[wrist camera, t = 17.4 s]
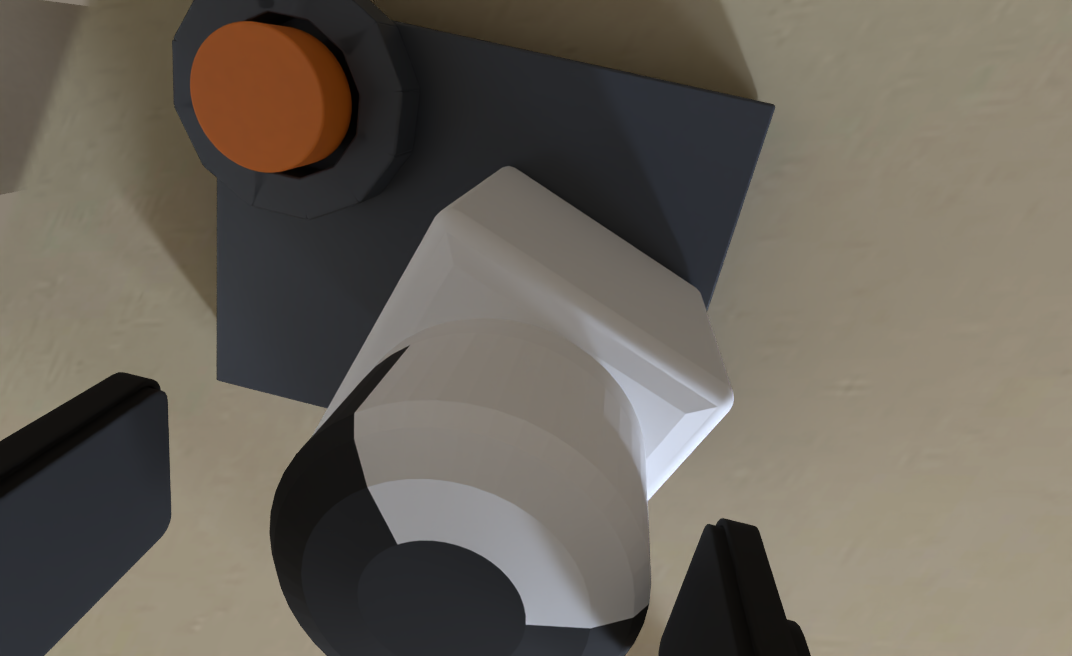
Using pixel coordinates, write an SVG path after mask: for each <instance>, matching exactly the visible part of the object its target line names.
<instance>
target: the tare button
mask: <svg viewBox="0 0 1072 656" xmlns="http://www.w3.org/2000/svg"><path fill="white" fill-rule="evenodd" d="M190 93H191V99H192V104H193V108H194V111H195V114H196V117H197V119H198V121H199V124H200V126H201V127H202V129H203V131H204V133H205V134H206V136H207V137H208V138H209V140H210V141H211V142H212V143H213V145H214V146H215V147H216V148H217V149H218V150H219V151H220V152H221V153H222V154H223V155H225V156H226V157H227V158H229V159H230V160H232V161H233V162H235V163H237V164H238V165H240V166H243V167H245V168H247V169H250V170H254V171H258V172H264V173H275V172H282V171H286V170H289V169H293V168H297V167H301V166H304V165H308V164H312V163H315V162H318V161H320V160H323V159H325V158H326V157H328V156H329V155H330V154H332V153H333V152H334V151H335V150H336V149H337V148H338V146H339V145H340V144H341V142H342V141H343V139H344V138H345V135H346V133H347V131H348V128H349V124H350V120H351V113H352V100H351V92H350V88H349V84H348V81H347V78H346V75H345V73H344V71H343V69H342V67H341V65H340V63H339V62H338V60H337V59H336V57H335V56H334V55H333V53H332V52H331V51H330V50H329V49H328V48H327V47H326V46H325V45H324V44H323V43H322V42H321V41H319V40H318V39H317V38H315V37H314V36H312V35H310V34H309V33H306V32H304V31H302V30H299V29H296V28H293V27H286V26H279V25H273V24H266V23H260V22H253V21H240V22H234V23H230V24H227V25H224V26H222V27H221V28H219V29H217V30H216V31H214V32H213V33H212V34H210V35H209V36H208V37H207V39H206V40H205V41H204V42H203V43H202V45H201V46H200V48H199V49H198V51H197V53H196V56H195V58H194V61H193V64H192V69H191V75H190Z"/></svg>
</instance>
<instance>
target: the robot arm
mask: <svg viewBox="0 0 1072 656" xmlns="http://www.w3.org/2000/svg"><path fill="white" fill-rule="evenodd" d="M170 519H171V490H170V459H169V428H168V399H167V395H166V393H165V392H163V391H161V390H160V386H159V384H158V382H156V381H155V380H153V379H148V378H144V377H140V376H136V375H132V374H128V373H123V372H118V373H116V374H113V375H111V376H110V377H108V378H106V379H105V380H103V381H101V382H100V383H98V384H96V385H95V386H93V387H91V388H90V389H88V390H86V391H84V392H83V393H81V394H79V395H78V396H76V397H74V398H73V399H71V400H69V401H68V402H66V403H64V404H62V405H61V406H59V407H57V408H56V409H54V410H52V411H51V412H49V413H47V414H46V415H44V416H42V417H40V418H39V419H37V420H35V421H34V422H32V423H30V424H29V425H27V426H25V427H24V428H22V429H20V430H19V431H17V432H15V433H13V434H12V435H10V436H8V437H7V438H5V439H3V440H2V441H0V656H44V655H45V654H46V653H47V652H48V651H49V650H50V649H51V648H52V647H53V646H54V645H55V644H56V643H57V642H58V641H59V640H60V639H61V638H62V637H63V636H64V635H65V634H66V633H67V632H68V631H69V630H70V629H71V628H72V627H73V626H74V625H75V624H76V623H77V622H78V621H79V620H80V619H81V618H82V617H83V616H84V615H85V614H86V613H87V612H88V611H89V610H90V609H91V608H92V607H93V606H94V605H95V604H96V603H97V602H98V601H99V600H100V599H101V598H102V597H103V596H104V595H105V594H106V593H107V592H108V591H109V590H110V589H111V588H112V587H113V586H114V584H115V583H116V582H117V581H118V580H119V579H120V578H121V577H122V576H123V575H124V574H125V573H126V572H127V571H128V570H129V569H130V568H131V567H132V566H133V565H134V564H135V563H136V562H137V561H138V560H139V559H140V558H141V557H142V556H143V555H144V554H145V553H146V552H147V551H148V550H149V549H150V548H151V547H152V546H153V545H154V544H155V543H156V542H157V541H158V540H159V539H160V538H161V537H162V536H163V534H164V533H165V531H166V530H167V528H168V525H169V523H170ZM659 656H811V655H810V652H809V649H808V646H807V643H806V640H805V637H804V634H803V632H802V630H801V628H800V626H799V625H798V624H797V623H796V622H795V621H791V620H787V619H786V616H785V613H784V609H783V606H782V603H781V600H780V597H779V593H778V590H777V587H776V584H775V581H774V577H773V574H772V571H771V568H770V565H769V561H768V558H767V555H766V552H765V549H764V545H763V542H762V539H761V536H760V533H759V530H758V528H757V527H755V526H753V525H749V524H745V523H740V522H736V521H732V520H728V519H724V518H722V519H720V520H719V521H718V522H717V524H716V526H715V525H711V524H707V525H706V526H705V528H704V530H703V533H702V535H701V538H700V540H699V543H698V545H697V548H696V551H695V553H694V556H693V558H692V561H691V563H690V566H689V569H688V571H687V574H686V576H685V579H684V581H683V584H682V587H681V589H680V592H679V594H678V597H677V600H676V602H675V605H674V607H673V610H672V612H671V615H670V618H669V620H668V623H667V625H666V628H665V630H664V633H663V636H662V639H661V642H660V647H659Z"/></svg>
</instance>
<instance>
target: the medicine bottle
mask: <svg viewBox="0 0 1072 656" xmlns="http://www.w3.org/2000/svg"><path fill="white" fill-rule="evenodd" d="M733 402H734V395H733V390H732V387H731V384H730V381H729V378H728V375H727V372H726V369H725V366H724V362H723V359H722V356H721V353H720V350H719V347H718V344H717V341H716V338H715V335H714V332H713V329H712V326H711V323H710V320H709V317H708V314H707V311H706V308H705V305H704V302H703V299H702V296H701V293H700V292H699V291H698V289H697V288H696V287H694V286H692V285H691V284H689V283H688V282H686V281H685V280H683V279H682V278H680V277H679V276H677V275H676V274H674V273H673V272H671V271H670V270H668V269H667V268H665V267H664V266H662V265H661V264H659V263H658V262H656V261H655V260H653V259H652V258H650V257H649V256H647V255H646V254H644V253H643V252H641V251H640V250H638V249H637V248H635V247H634V246H632V245H631V244H629V243H628V242H626V241H625V240H623V239H622V238H620V237H619V236H617V235H616V234H614V233H613V232H611V231H610V230H608V229H607V228H605V227H604V226H602V225H601V224H599V223H598V222H596V221H595V220H593V219H591V218H590V217H588V216H587V215H585V214H584V213H582V212H581V211H579V210H578V209H576V208H575V207H573V206H572V205H570V204H569V203H567V202H566V201H564V200H563V199H561V198H560V197H558V196H557V195H555V194H554V193H552V192H551V191H549V190H548V189H546V188H545V187H543V186H542V185H540V184H539V183H537V182H536V181H534V180H533V179H531V178H530V177H528V176H527V175H525V174H524V173H522V172H521V171H519V170H518V169H516V168H514V167H511V166H506V167H502V168H501V169H500V170H498V171H497V172H495V173H494V174H492V175H491V176H490V177H488V178H487V179H485V180H484V181H483V182H481V183H480V184H478V185H477V186H475V187H474V188H473V189H471V190H470V191H468V192H467V193H465V194H464V195H463V196H461V197H460V198H458V199H457V200H456V201H454V202H453V203H451V204H450V205H448V206H447V207H446V208H444V209H443V210H441V211H440V212H439V213H438V214H437V215H436V216H435V218H434V220H433V221H432V223H431V225H430V227H429V229H428V230H427V232H426V234H425V236H424V238H423V239H422V241H421V243H420V245H419V246H418V248H417V250H416V252H415V254H414V255H413V257H412V259H411V261H410V262H409V264H408V266H407V268H406V270H405V271H404V273H403V275H402V277H401V278H400V280H399V282H398V284H397V286H396V287H395V289H394V291H393V293H392V295H391V296H390V298H389V300H388V302H387V303H386V305H385V307H384V309H383V311H382V312H381V314H380V316H379V318H378V319H377V321H376V323H375V325H374V327H373V328H372V330H371V332H370V334H369V335H368V337H367V339H366V341H365V343H364V344H363V346H362V348H361V350H360V352H359V353H358V355H357V357H356V359H355V360H354V362H353V364H352V366H351V368H350V369H349V371H348V373H347V375H346V376H345V378H344V380H343V382H342V384H341V385H340V387H339V389H338V391H337V392H336V394H335V396H334V398H333V400H332V401H331V403H330V405H329V407H328V409H327V410H326V412H325V414H324V416H323V417H322V419H321V421H320V423H319V425H318V426H317V428H316V430H315V432H314V433H313V435H312V437H311V438H310V439H309V441H308V442H307V443H306V444H305V445H304V446H303V447H302V448H301V450H300V451H299V452H298V453H297V454H296V456H295V457H294V458H293V460H292V461H291V463H290V464H289V466H288V467H287V469H286V470H285V472H284V474H283V476H282V478H281V480H280V483H279V485H278V487H277V489H276V492H275V496H274V500H273V505H272V509H271V516H270V541H271V550H272V556H273V560H274V564H275V568H276V571H277V575H278V579H279V582H280V586H281V589H282V591H283V594H284V596H285V598H286V601H287V603H288V605H289V607H290V609H291V611H292V612H293V614H294V616H295V617H296V619H297V621H298V622H299V624H300V626H301V627H302V628H303V629H304V631H305V632H306V633H307V634H308V636H309V637H310V638H311V640H312V641H313V642H314V643H315V644H316V645H317V646H318V647H319V648H320V649H321V650H322V651H323V652H324V653H325V654H326V655H327V656H625V655H626V653H627V652H628V651H629V649H630V648H631V647H632V645H633V644H634V642H635V640H636V638H637V636H638V634H639V632H640V630H641V628H642V626H643V624H644V620H645V617H646V613H647V610H648V606H649V600H650V589H651V567H650V544H649V520H648V500H649V499H650V498H651V497H652V496H653V494H654V493H655V492H656V491H657V490H658V489H659V488H660V487H661V486H662V485H663V483H664V482H665V481H666V480H667V479H668V478H669V477H670V476H671V475H672V473H673V472H674V471H675V470H676V469H677V468H678V467H679V466H680V465H681V464H682V462H683V461H684V460H685V459H686V458H687V457H688V456H689V455H690V454H691V452H692V451H693V450H694V449H695V448H696V447H697V446H698V445H699V444H700V443H701V441H702V440H703V439H704V438H705V437H706V436H707V435H708V434H709V433H710V431H711V430H712V429H713V428H714V427H715V426H716V425H717V424H718V423H719V422H720V420H721V419H722V418H723V417H724V416H725V415H726V414H727V413H728V412H729V411H730V409H731V407H732V405H733Z"/></svg>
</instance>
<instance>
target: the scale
mask: <svg viewBox="0 0 1072 656" xmlns="http://www.w3.org/2000/svg"><path fill="white" fill-rule="evenodd" d="M240 21H253V22H260V23H266V24H273V25H279V26H286V27H293V28H296V29H299V30H302V31H304V32H306V33H309V34H310V35H312V36H314V37H315V38H317V39H318V40H319V41H321V42H322V43H323V44H324V45H325V46H326V47H327V48H328V49H329V50H330V51H331V52H332V53H333V55H334V56H335V57H336V59H337V60H338V62H339V63H340V65H341V67H342V69H343V71H344V73H345V75H346V78H347V81H348V84H349V88H350V92H351V100H352V113H351V120H350V124H349V128H348V131H347V133H346V135H345V138H344V139H343V141H342V142H341V144H340V145H339V146H338V148H337V149H336V150H335V151H334V152H333V153H332V154H330V155H329V156H328V157H326V158H325V159H323V160H320V161H318V162H315V163H312V164H308V165H304V166H301V167H297V168H293V169H289V170H286V171H282V172H275V173H264V172H258V171H254V170H250V169H247V168H245V167H243V166H240V165H238V164H237V163H235V162H233V161H232V160H230V159H229V158H227V157H226V156H225V155H223V154H222V153H221V152H220V151H219V150H218V149H217V148H216V147H215V146H214V145H213V143H212V142H211V141H210V140H209V138H208V137H207V136H206V134H205V133H204V131H203V129H202V127H201V126H200V124H199V121H198V119H197V117H196V114H195V111H194V108H193V104H192V99H191V93H190V75H191V69H192V64H193V61H194V58H195V56H196V53H197V51H198V49H199V48H200V46H201V45H202V43H203V42H204V41H205V40H206V39H207V37H208V36H209V35H210V34H212V33H213V32H214V31H216V30H217V29H219V28H221V27H222V26H224V25H227V24H230V23H234V22H240ZM172 49H173V91H174V105H175V109H176V111H177V113H178V115H179V117H180V119H181V121H182V124H183V126H184V128H185V130H186V132H187V134H188V136H189V138H190V140H191V142H192V144H193V146H194V148H195V150H196V152H197V154H198V156H199V158H200V160H201V162H202V165H204V167H205V168H206V169H207V170H209V171H210V172H211V173H212V174H213V175H215V176H216V177H217V380H218V381H222V382H226V383H230V384H234V385H238V386H242V387H246V388H249V389H253V390H257V391H261V392H265V393H269V394H273V395H277V396H281V397H285V398H289V399H293V400H297V401H300V402H304V403H308V404H312V405H316V406H320V407H324V408H328V407H329V405H330V403H331V401H332V400H333V398H334V396H335V394H336V392H337V391H338V389H339V387H340V385H341V384H342V382H343V380H344V378H345V376H346V375H347V373H348V371H349V369H350V368H351V366H352V364H353V362H354V360H355V359H356V357H357V355H358V353H359V352H360V350H361V348H362V346H363V344H364V343H365V341H366V339H367V337H368V335H369V334H370V332H371V330H372V328H373V327H374V325H375V323H376V321H377V319H378V318H379V316H380V314H381V312H382V311H383V309H384V307H385V305H386V303H387V302H388V300H389V298H390V296H391V295H392V293H393V291H394V289H395V287H396V286H397V284H398V282H399V280H400V278H401V277H402V275H403V273H404V271H405V270H406V268H407V266H408V264H409V262H410V261H411V259H412V257H413V255H414V254H415V252H416V250H417V248H418V246H419V245H420V243H421V241H422V239H423V238H424V236H425V234H426V232H427V230H428V229H429V227H430V225H431V223H432V221H433V220H434V218H435V216H436V215H437V214H438V213H439V212H440V211H441V210H443V209H444V208H446V207H447V206H448V205H450V204H451V203H453V202H454V201H456V200H457V199H458V198H460V197H461V196H463V195H464V194H465V193H467V192H468V191H470V190H471V189H473V188H474V187H475V186H477V185H478V184H480V183H481V182H483V181H484V180H485V179H487V178H488V177H490V176H491V175H492V174H494V173H495V172H497V171H498V170H500V169H501V168H502V167H506V166H511V167H514V168H516V169H518V170H519V171H521V172H522V173H524V174H525V175H527V176H528V177H530V178H531V179H533V180H534V181H536V182H537V183H539V184H540V185H542V186H543V187H545V188H546V189H548V190H549V191H551V192H552V193H554V194H555V195H557V196H558V197H560V198H561V199H563V200H564V201H566V202H567V203H569V204H570V205H572V206H573V207H575V208H576V209H578V210H579V211H581V212H582V213H584V214H585V215H587V216H588V217H590V218H591V219H593V220H595V221H596V222H598V223H599V224H601V225H602V226H604V227H605V228H607V229H608V230H610V231H611V232H613V233H614V234H616V235H617V236H619V237H620V238H622V239H623V240H625V241H626V242H628V243H629V244H631V245H632V246H634V247H635V248H637V249H638V250H640V251H641V252H643V253H644V254H646V255H647V256H649V257H650V258H652V259H653V260H655V261H656V262H658V263H659V264H661V265H662V266H664V267H665V268H667V269H668V270H670V271H671V272H673V273H674V274H676V275H677V276H679V277H680V278H682V279H683V280H685V281H686V282H688V283H689V284H691V285H692V286H694V287H696V288H697V289H698V291H699V292H700V293H701V296H702V299H703V302H704V305H705V308H706V311H707V310H708V307H709V304H710V301H711V298H712V295H713V292H714V289H715V286H716V283H717V280H718V277H719V274H720V271H721V268H722V265H723V262H724V259H725V256H726V253H727V250H728V247H729V244H730V241H731V238H732V235H733V232H734V229H735V226H736V223H737V220H738V217H739V214H740V211H741V208H742V205H743V202H744V199H745V196H746V193H747V190H748V187H749V184H750V182H751V179H752V176H753V173H754V170H755V167H756V164H757V161H758V158H759V155H760V152H761V149H762V146H763V143H764V140H765V137H766V134H767V131H768V128H769V125H770V122H771V119H772V116H773V113H774V110H775V105H773V104H770V103H765V102H761V101H756V100H752V99H747V98H743V97H738V96H734V95H729V94H725V93H720V92H715V91H711V90H706V89H702V88H697V87H693V86H688V85H684V84H679V83H675V82H670V81H665V80H661V79H656V78H652V77H647V76H643V75H638V74H634V73H629V72H624V71H620V70H615V69H611V68H606V67H602V66H597V65H593V64H588V63H584V62H579V61H574V60H570V59H565V58H561V57H556V56H552V55H547V54H543V53H538V52H534V51H529V50H524V49H520V48H515V47H511V46H506V45H502V44H497V43H493V42H488V41H484V40H479V39H474V38H470V37H465V36H461V35H456V34H452V33H447V32H443V31H438V30H433V29H429V28H424V27H420V26H415V25H411V24H406V23H402V22H397V21H393V20H390V19H389V18H388V17H387V16H386V15H385V14H384V13H383V12H382V11H381V10H380V9H378V8H377V7H376V6H375V5H374V4H373V3H372V2H371V1H370V0H194V1H193V3H192V5H191V7H190V8H189V10H188V12H187V14H186V16H185V18H184V19H183V21H182V23H181V25H180V27H179V29H178V31H177V32H176V34H175V36H174V40H173V41H172Z"/></svg>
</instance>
